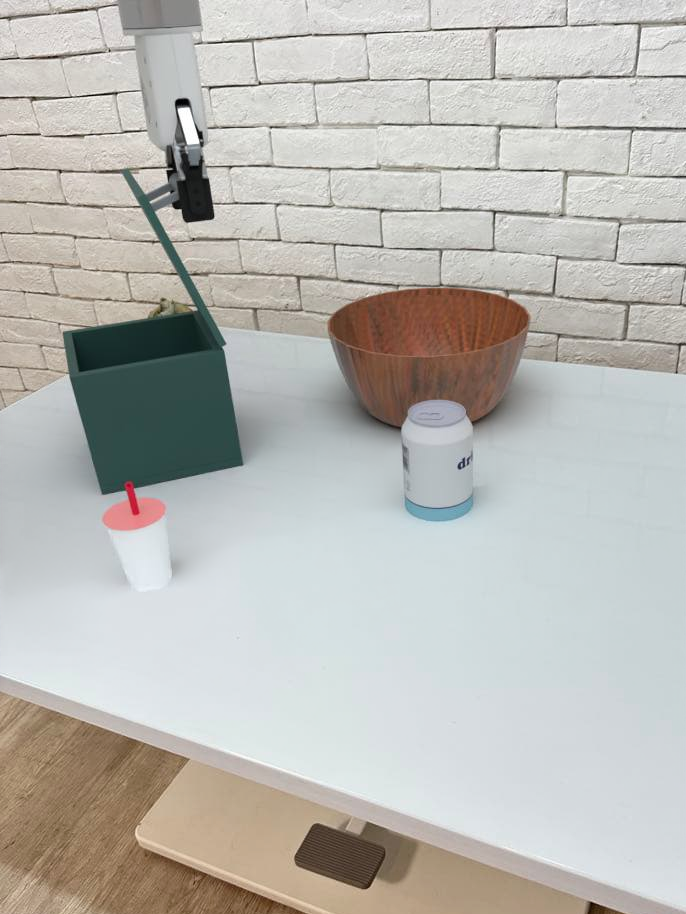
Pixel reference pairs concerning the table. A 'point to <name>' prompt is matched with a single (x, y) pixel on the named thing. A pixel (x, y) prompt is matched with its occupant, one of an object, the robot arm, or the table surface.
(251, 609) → the table surface
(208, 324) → the lid
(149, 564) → the cup
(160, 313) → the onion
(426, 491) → the beverage can
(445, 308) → the bowl
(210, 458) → the cooler
